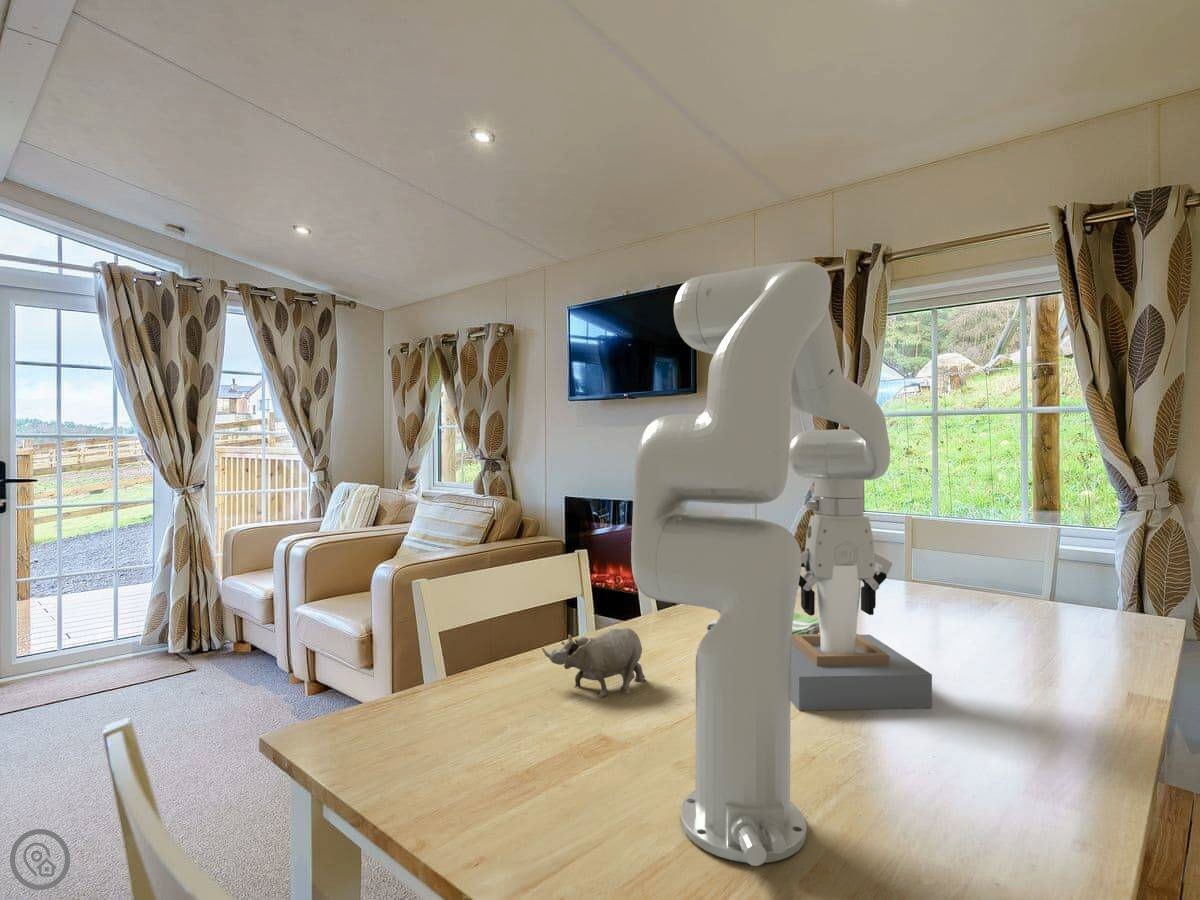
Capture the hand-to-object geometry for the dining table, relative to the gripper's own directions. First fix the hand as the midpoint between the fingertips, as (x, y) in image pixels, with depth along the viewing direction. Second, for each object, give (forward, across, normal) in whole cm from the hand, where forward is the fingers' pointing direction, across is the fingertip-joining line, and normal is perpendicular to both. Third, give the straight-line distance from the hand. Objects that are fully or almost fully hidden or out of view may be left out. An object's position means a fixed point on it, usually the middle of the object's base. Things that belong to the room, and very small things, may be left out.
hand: (838, 613), depth 106 cm
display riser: (+12, 0, 0) cm, 12 cm away
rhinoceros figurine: (+12, -39, 0) cm, 41 cm away
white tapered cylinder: (+7, 0, 0) cm, 7 cm away
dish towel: (+12, -1, +31) cm, 33 cm away
